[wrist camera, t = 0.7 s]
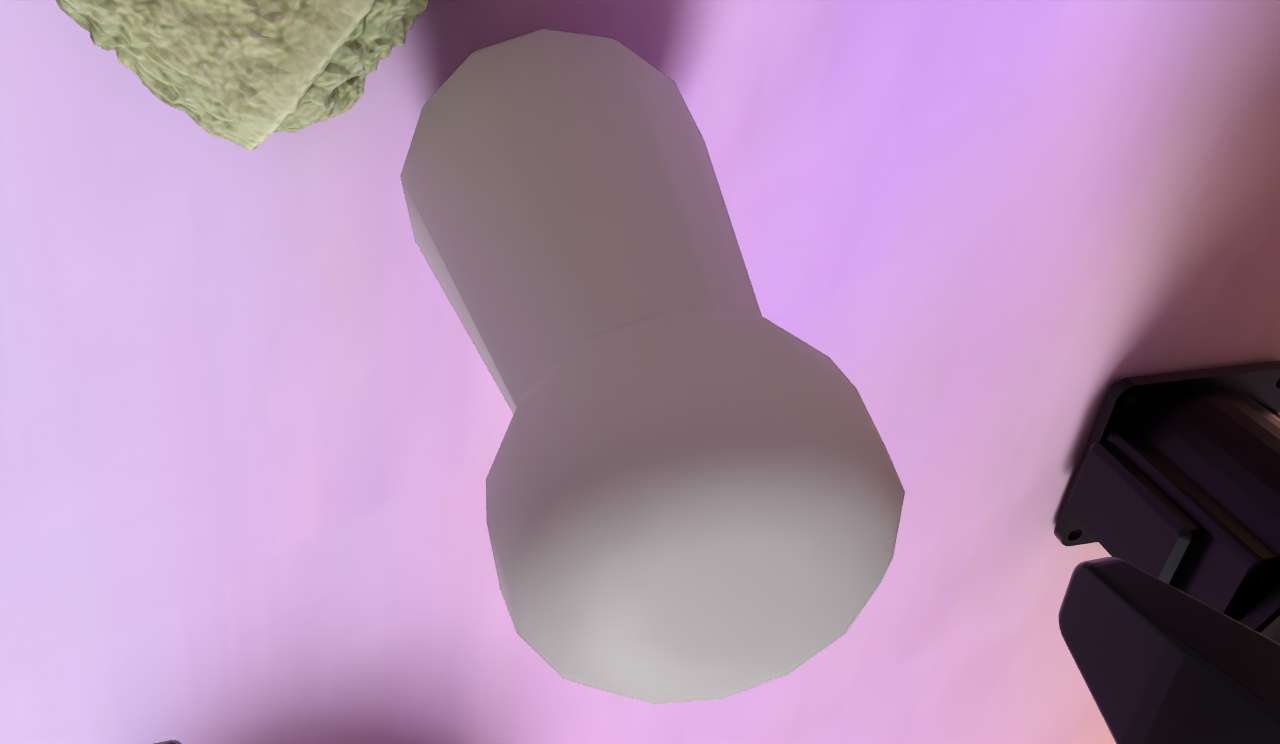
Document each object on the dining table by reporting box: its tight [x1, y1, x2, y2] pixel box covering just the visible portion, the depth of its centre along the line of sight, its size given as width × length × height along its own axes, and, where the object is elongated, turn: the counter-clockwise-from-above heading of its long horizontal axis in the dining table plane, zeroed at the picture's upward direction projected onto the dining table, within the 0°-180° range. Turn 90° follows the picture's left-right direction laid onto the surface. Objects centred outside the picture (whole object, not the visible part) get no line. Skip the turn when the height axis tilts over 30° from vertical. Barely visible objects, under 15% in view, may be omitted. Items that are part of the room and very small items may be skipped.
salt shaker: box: [401, 29, 905, 704], centre depth 14 cm, size 6×6×13 cm
